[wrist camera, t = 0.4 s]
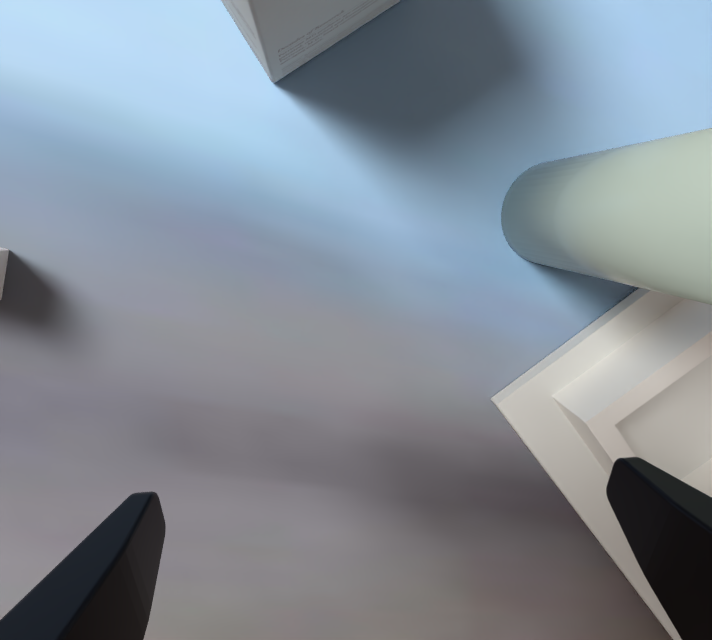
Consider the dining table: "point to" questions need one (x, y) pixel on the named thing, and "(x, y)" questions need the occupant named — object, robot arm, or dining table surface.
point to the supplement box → (298, 28)
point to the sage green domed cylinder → (621, 215)
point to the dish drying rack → (621, 411)
